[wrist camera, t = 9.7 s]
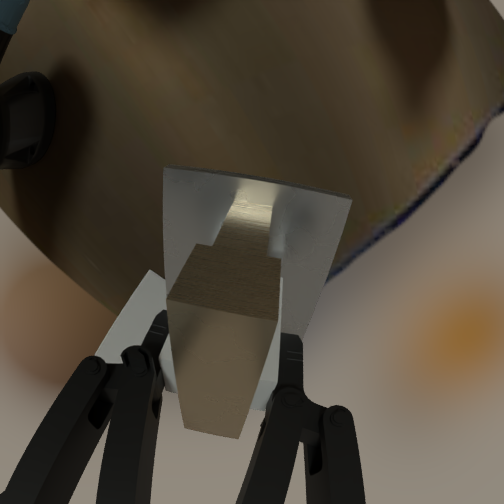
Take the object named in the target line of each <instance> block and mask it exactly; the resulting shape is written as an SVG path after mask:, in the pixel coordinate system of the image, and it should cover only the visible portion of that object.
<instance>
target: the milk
mask: <svg viewBox="0 0 504 504" xmlns="http://www.w3.org/2000/svg"><path fill="white" fill-rule="evenodd" d="M166 298H167V296H166V282H165V279H163V278H162V277H160V276H159V275H157V274H156V273H154V272H153V271H152V270H149V271H148V273H147V274H146V275H145V277H144V278H143V280H142V281H141V283H140V284H139V286H138V287H137V289H136V290H135V291H134V293H133V294H132V296H131V297H130V299H129V300H128V302H127V303H126V305H125V307H124V308H123V310H122V311H121V313H120V314H119V316H118V317H117V319H116V321H115V322H114V324H113V325H112V327H111V328H110V330H109V332H108V333H107V335H106V337H105V338H104V340H103V341H102V343H101V345H100V346H99V348H98V350H97V351H96V353H95V355H94V356H98V357H101V358H102V359H103V360H104V361H105V363H117V364H120V363H123V361H122V359H121V356H120V355H121V353H122V352H123V350H125V349H126V348H127V347H130V346H133V345H140V346H141V344H142V342H143V340H144V338H145V336H146V334H147V332H148V330H149V328H150V326H151V325H152V322H153V320H154V318H155V316H156V315H157V314H158V313H160V312H161V311H162V310H163V309H164V310H167V306H166Z"/></svg>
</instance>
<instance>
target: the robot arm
mask: <svg viewBox="0 0 504 504" xmlns="http://www.w3.org/2000/svg"><path fill="white" fill-rule="evenodd" d="M29 1H30V0H0V63H1V61H2V58H3V56H4V54H5V51H6V49H7V47H8V44H9V42H10V40H11V38H12V36H13V34H15V33H16V31H17V26H18V24H19V22H20V19H21V17H22V15H23V13H24V12H25V10H26V8H27V6H28V4H29ZM54 124H55V99H54V94H53V90H52V87H51V85H50V83H49V81H48V79H47V78H46V77H45V76H44V75H43V74H41V73H39V72H25V73H21V74H18V75H16V76H14V77H12V78H10V79H9V80H7V81H5V82H3V83H2V84H0V169H20V168H25V167H27V166H29V165H31V164H34V163H36V162H37V161H39V160H40V159H41V158H42V156H43V155H44V154H45V152H46V150H47V149H48V146H49V144H50V141H51V138H52V135H53V130H54ZM282 287H283V277H280V296H279V315H278V323H277V327H276V330H275V333H274V336H273V340H272V343H271V346H270V349H269V352H268V355H267V358H266V362H265V365H264V368H263V371H262V374H261V377H260V380H259V383H258V386H257V389H256V392H255V394H254V397H253V400H252V403H251V406H250V409H255V410H262V411H265V409H266V413H265V418H264V420H263V422H262V424H261V425H260V426H261V429H260V432H259V435H258V439H257V442H256V445H255V448H254V451H253V454H252V457H251V461H250V464H249V467H248V470H247V473H246V475H245V479H244V482H243V484H242V487H241V490H240V493H239V495H238V498H237V501H236V504H284V502H285V498H286V494H287V491H288V487H289V483H290V479H291V475H292V471H293V467H294V463H295V458H296V454H297V450H298V446H299V441H300V442H303V444H304V461H305V478H306V500H307V504H366V502H365V493H364V485H363V478H362V469H361V463H360V456H359V449H358V443H357V437H356V432H355V426H354V421H353V416H352V414H351V412H350V411H349V410H348V409H347V408H345V407H343V406H339V405H335V406H331V407H329V408H326V407H323V406H320V405H318V404H316V403H314V402H312V401H311V400H309V399H308V398H307V396H306V395H305V393H304V389H303V343H302V341H301V339H300V337H299V335H296V334H289V333H282V332H281V312H282ZM120 356H121V359H122V361H123V363H120V364H117V363H105V361H104V360H103V359H102V358H101V357H98V356H89V357H86V358H85V359H84V360H82V362H81V363H80V364H79V366H78V367H77V369H76V370H75V371H74V373H73V374H72V376H71V377H70V379H69V380H68V382H67V383H66V385H65V386H64V388H63V389H62V391H61V392H60V394H59V395H58V397H57V398H56V400H55V401H54V403H53V405H52V406H51V408H50V409H49V411H48V412H47V414H46V416H45V417H44V419H43V421H42V422H41V424H40V426H39V427H38V429H37V431H36V433H35V434H34V436H33V438H32V439H31V441H30V443H29V445H28V446H27V448H26V450H25V452H24V454H23V456H22V458H21V459H20V461H19V463H18V465H17V467H16V469H15V471H14V473H13V475H12V477H11V479H10V481H9V483H8V485H7V487H6V490H5V491H4V492H3V493H1V494H0V504H68V503H69V501H70V499H71V496H72V495H73V492H74V490H75V488H76V486H77V484H78V482H79V480H80V478H81V476H82V474H83V472H84V470H85V467H86V466H87V463H88V461H89V460H90V458H91V456H92V454H93V452H94V449H95V448H96V446H97V444H98V442H99V440H100V438H101V436H102V434H103V432H104V430H105V429H106V427H107V425H108V423H109V421H110V425H109V429H108V434H107V439H106V443H105V448H104V453H103V459H102V465H101V470H100V477H99V483H98V490H97V499H96V504H150V499H151V487H152V475H153V466H154V457H155V448H156V440H157V433H158V426H159V419H160V412H161V406H162V391H163V389H164V386H165V389H166V391H169V392H173V393H177V394H178V391H177V385H176V379H175V373H174V366H173V359H172V351H171V344H170V335H169V327H168V317H167V310H164V309H163V310H162V311H161V312H160V313H158V314H157V315H156V316H155V318H154V320H153V322H152V325H151V326H150V328H149V330H148V332H147V334H146V336H145V338H144V340H143V342H142V344H141V346H140V345H133V346H130V347H127V348H126V349H125V350H123V352H122V353H121V355H120ZM110 419H111V420H110Z"/></svg>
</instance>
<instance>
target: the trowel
mask: <svg viewBox="0 0 504 504" xmlns="http://www.w3.org/2000/svg"><path fill="white" fill-rule="evenodd" d="M351 203H352V199H351V197H350V196H349V195H347V194H343V193H339V192H334V191H330V190H326V189H321V188H317V187H312V186H307V185H302V184H297V183H292V182H287V181H282V180H276V179H271V178H265V177H260V176H254V175H247V174H241V173H235V172H228V171H221V170H214V169H206V168H198V167H190V166H181V165H171V164H169V165H167V166H166V167H164V173H163V239H164V265H165V282H166V296H167V298H166V306H167V317H168V327H169V335H170V344H171V351H172V359H173V366H174V373H175V379H176V385H177V391H178V397H179V402H180V408H181V413H182V418H183V422H184V427H185V428H187V429H191V430H195V431H199V432H203V433H208V434H213V435H218V436H223V437H229V438H235V439H239V436H240V434H241V431H242V428H243V425H244V422H245V420H246V417H247V414H248V412H249V409H250V406H251V403H252V400H253V397H254V394H255V392H256V389H257V386H258V383H259V380H260V377H261V374H262V371H263V368H264V365H265V362H266V358H267V355H268V352H269V349H270V346H271V343H272V340H273V336H274V333H275V330H276V327H277V323H278V315H279V296H280V277H283V287H282V312H281V332H282V333H289V334H296V335H299V337H300V339H301V341H302V339H303V336H304V334H305V332H306V329H307V327H308V324H309V322H310V320H311V317H312V314H313V312H314V310H315V307H316V304H317V302H318V299H319V297H320V294H321V291H322V289H323V286H324V284H325V281H326V278H327V275H328V273H329V270H330V267H331V264H332V261H333V259H334V256H335V253H336V250H337V247H338V244H339V241H340V238H341V235H342V232H343V229H344V225H345V222H346V219H347V216H348V213H349V209H350V206H351Z"/></svg>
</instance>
